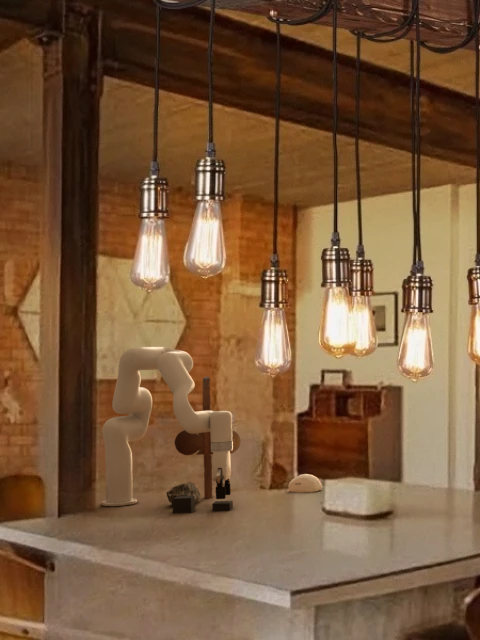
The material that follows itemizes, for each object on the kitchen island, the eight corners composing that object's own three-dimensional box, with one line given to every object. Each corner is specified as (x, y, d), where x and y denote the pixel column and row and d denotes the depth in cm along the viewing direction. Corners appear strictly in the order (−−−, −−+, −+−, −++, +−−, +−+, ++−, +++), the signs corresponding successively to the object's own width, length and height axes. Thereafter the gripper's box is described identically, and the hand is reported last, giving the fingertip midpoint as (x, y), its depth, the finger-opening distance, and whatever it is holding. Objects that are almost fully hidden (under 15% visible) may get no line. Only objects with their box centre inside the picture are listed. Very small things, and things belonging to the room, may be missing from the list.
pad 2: (215, 508, 378) (215, 501, 379) (232, 507, 378) (232, 500, 379) (212, 511, 372) (212, 503, 373) (229, 510, 372) (229, 503, 373)
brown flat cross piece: (242, 496, 406) (239, 375, 410) (239, 498, 402) (236, 376, 407) (178, 497, 410) (176, 377, 414) (174, 498, 406) (172, 378, 411)
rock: (200, 499, 384) (181, 478, 385) (179, 518, 383) (160, 497, 383) (206, 493, 402) (188, 473, 403) (186, 511, 401) (168, 491, 402)
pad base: (176, 510, 377) (176, 503, 377) (195, 510, 377) (195, 502, 377) (172, 513, 371) (172, 506, 371) (191, 512, 370) (191, 505, 371)
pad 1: (177, 503, 377) (177, 496, 377) (194, 502, 377) (194, 495, 377) (173, 505, 371) (173, 498, 371) (191, 505, 371) (190, 497, 371)
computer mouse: (292, 489, 421) (292, 473, 422) (324, 489, 418) (323, 473, 418) (286, 491, 415) (286, 475, 416) (318, 491, 412) (318, 475, 412)
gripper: (215, 445, 386) (217, 494, 384) (206, 449, 369) (207, 501, 367) (236, 444, 386) (238, 493, 384) (228, 448, 369) (229, 499, 367)
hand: (223, 496), depth 376 cm, fingers open, 9 cm apart
